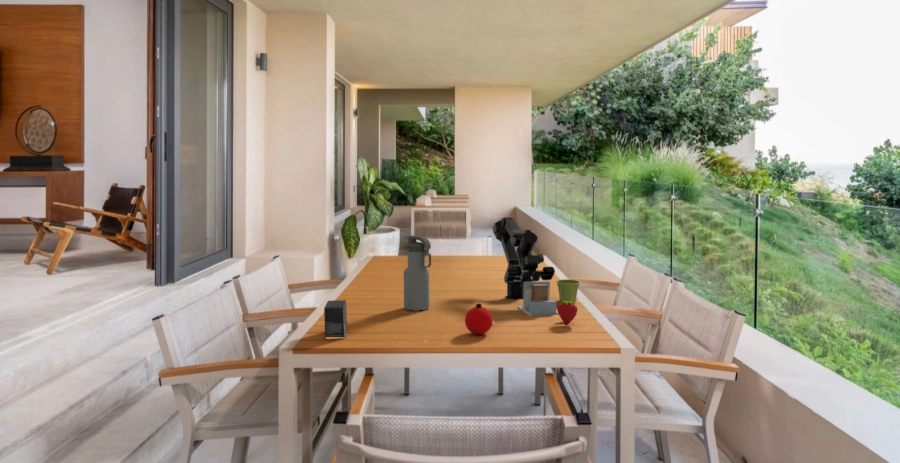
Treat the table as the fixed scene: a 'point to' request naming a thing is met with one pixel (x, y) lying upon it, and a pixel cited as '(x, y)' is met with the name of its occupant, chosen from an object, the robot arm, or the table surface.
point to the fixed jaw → (542, 307)
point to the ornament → (478, 320)
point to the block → (539, 292)
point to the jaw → (528, 292)
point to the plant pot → (568, 289)
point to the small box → (335, 318)
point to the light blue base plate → (530, 313)
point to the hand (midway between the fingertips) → (534, 292)
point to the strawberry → (567, 311)
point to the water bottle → (417, 274)
